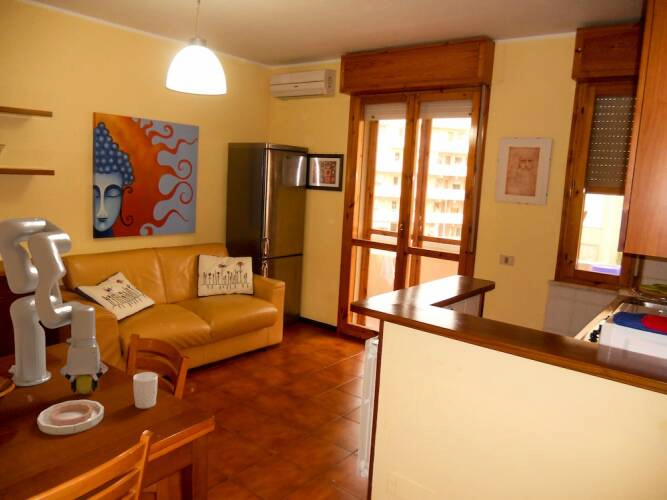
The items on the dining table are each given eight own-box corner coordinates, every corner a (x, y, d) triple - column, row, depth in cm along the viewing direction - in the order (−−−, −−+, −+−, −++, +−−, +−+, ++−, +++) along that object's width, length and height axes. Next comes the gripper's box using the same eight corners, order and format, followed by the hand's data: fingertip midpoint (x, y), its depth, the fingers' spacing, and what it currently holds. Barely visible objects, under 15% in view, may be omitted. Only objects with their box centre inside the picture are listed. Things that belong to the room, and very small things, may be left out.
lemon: (96, 391, 177) (96, 370, 176) (87, 398, 172) (87, 376, 170) (82, 390, 177) (81, 368, 176) (72, 396, 172) (72, 374, 171)
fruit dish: (24, 429, 149) (23, 420, 149) (68, 403, 167) (67, 395, 166) (75, 439, 146) (75, 429, 145) (115, 411, 163) (115, 403, 163)
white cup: (162, 401, 172) (162, 374, 171) (147, 411, 165) (147, 382, 163) (144, 397, 174) (144, 370, 173) (128, 406, 167) (127, 378, 166)
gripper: (53, 346, 166) (54, 397, 168) (109, 343, 171) (109, 393, 173) (58, 339, 173) (59, 388, 175) (112, 336, 178) (112, 384, 180)
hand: (84, 390), depth 174 cm, fingers open, 5 cm apart
